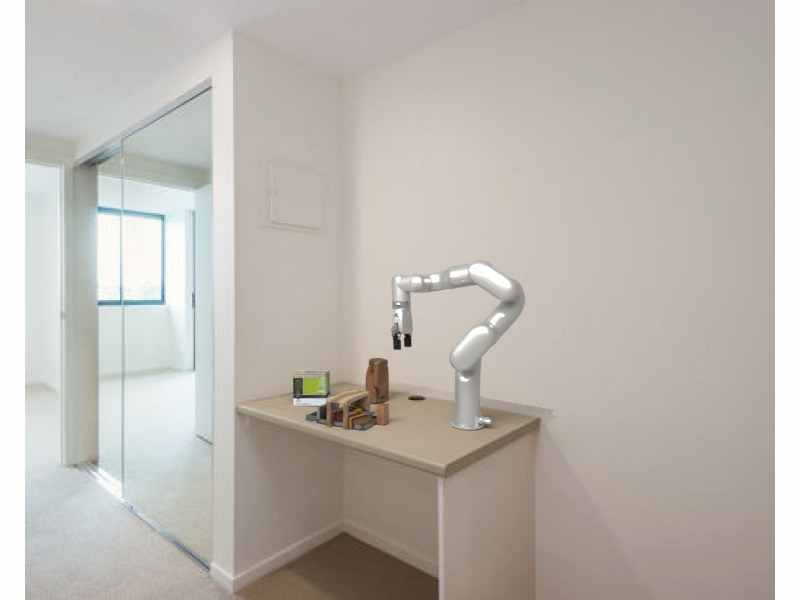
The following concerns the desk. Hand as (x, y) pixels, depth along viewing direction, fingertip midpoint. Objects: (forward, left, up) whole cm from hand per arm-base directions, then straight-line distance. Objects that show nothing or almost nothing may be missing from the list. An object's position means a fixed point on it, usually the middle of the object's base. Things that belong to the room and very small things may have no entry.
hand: (402, 348), depth 170 cm
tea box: (+46, -2, -28) cm, 55 cm away
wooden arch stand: (+16, +15, -28) cm, 36 cm away
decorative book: (+16, +15, -29) cm, 36 cm away
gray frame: (+29, +15, -28) cm, 43 cm away
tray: (+14, +15, -28) cm, 34 cm away
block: (+22, -18, -28) cm, 40 cm away
